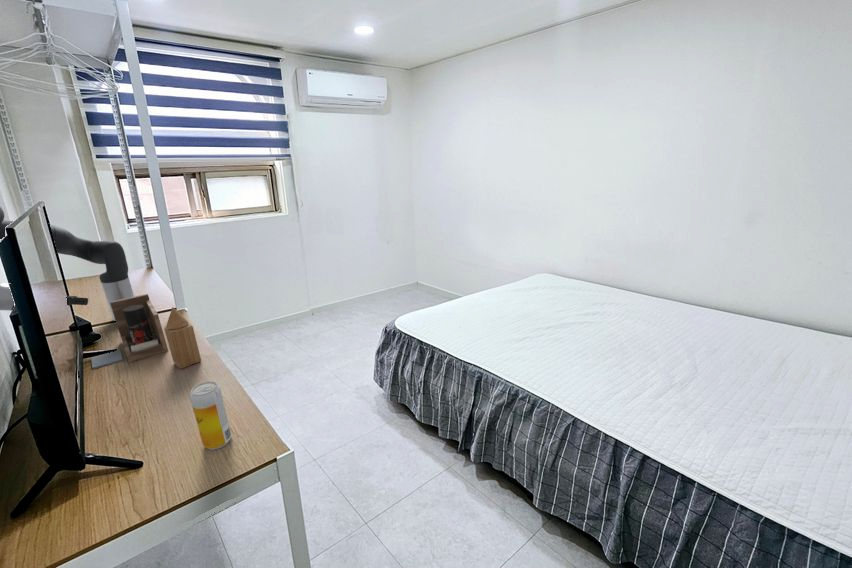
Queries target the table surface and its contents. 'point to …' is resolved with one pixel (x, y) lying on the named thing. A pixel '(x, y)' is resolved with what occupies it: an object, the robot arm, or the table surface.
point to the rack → (152, 320)
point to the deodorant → (137, 324)
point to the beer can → (210, 415)
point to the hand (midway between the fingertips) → (82, 300)
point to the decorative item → (181, 340)
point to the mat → (106, 359)
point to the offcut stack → (144, 345)
